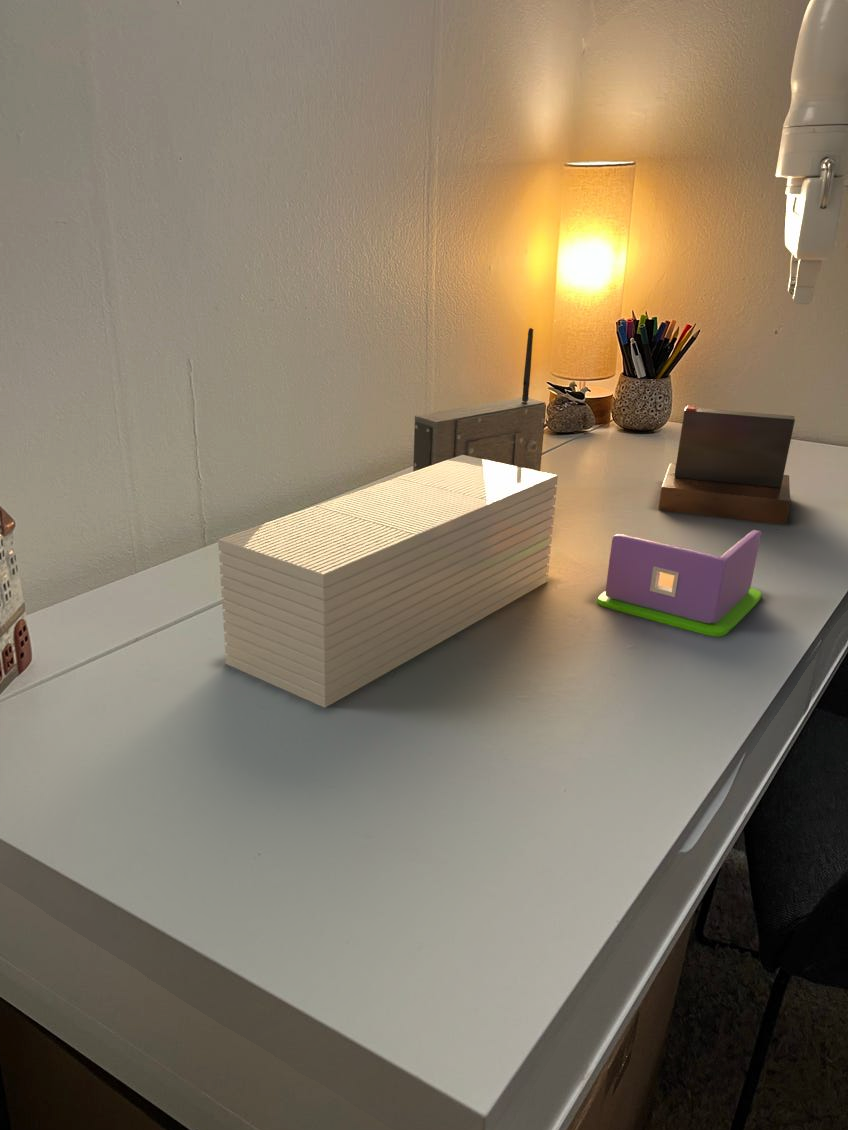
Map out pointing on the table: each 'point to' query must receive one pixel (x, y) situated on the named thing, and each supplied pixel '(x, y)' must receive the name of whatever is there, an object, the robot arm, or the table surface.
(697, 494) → the stand
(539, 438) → the electronic device
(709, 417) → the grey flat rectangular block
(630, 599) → the miniature room corner
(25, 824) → the table surface
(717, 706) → the table surface
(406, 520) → the stack of papers
